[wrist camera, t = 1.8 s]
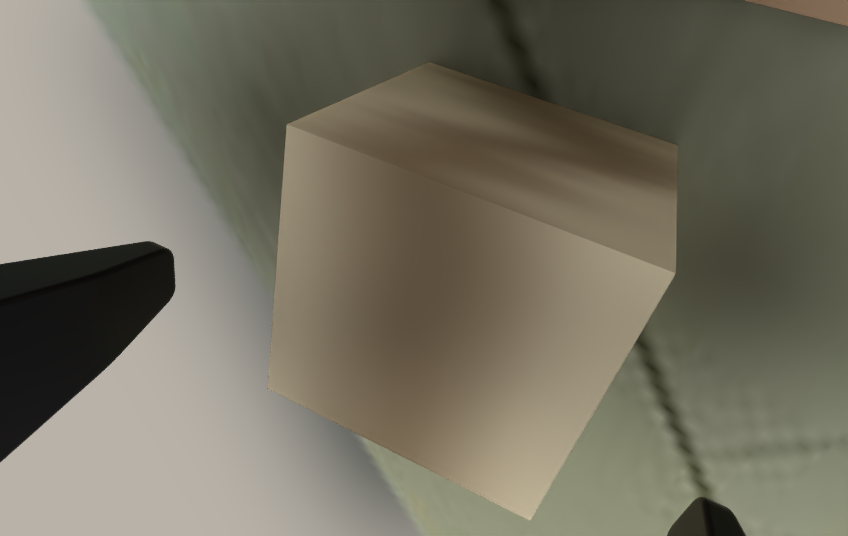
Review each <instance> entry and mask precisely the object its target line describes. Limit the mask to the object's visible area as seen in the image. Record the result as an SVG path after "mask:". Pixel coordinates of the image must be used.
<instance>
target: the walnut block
mask: <svg viewBox="0 0 848 536" xmlns="http://www.w3.org/2000/svg"><path fill="white" fill-rule="evenodd" d="M745 1H749V2H753V3H757V4H761V5H765V6H769V7H773V8H777V9H781V10H785V11H789V12H793V13H797V14H801V15H805V16H809V17H813V18H817V19H821V20H825V21H829V22H833V23H837V24H841V25H845V26H848V0H745Z"/></svg>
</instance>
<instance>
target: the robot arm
mask: <svg viewBox="0 0 848 536" xmlns="http://www.w3.org/2000/svg"><path fill="white" fill-rule="evenodd" d="M174 291H175V271H174V257H173V254H172V252H171V251H170V250H169V249H167V248H165V247H163V246H161V245H158V244H156V243H154V242H150V241H146V242H139V243H133V244H126V245H120V246H113V247H107V248H101V249H94V250H88V251H82V252H75V253H69V254H63V255H57V256H50V257H43V258H37V259H31V260H24V261H19V262H12V263H5V264H0V462H1V461H2V460H3V459H5V458H6V457H7V456H8V455H9V454H10V453H11V452H12V451H14V450H15V449H16V448H17V447H18V446H19V445H21V444H22V443H23V442H24V441H25V440H26V439H27V438H28V437H30V435H32V434H33V433H34V432H35V431H36V430H37V429H39V428H40V427H41V426H42V425H43V424H44V423H45V422H46V421H48V420H49V419H50V418H51V417H52V416H53V415H54V414H55V413H57V411H59V410H60V409H61V408H62V407H63V406H64V405H65V404H67V403H68V402H69V401H70V400H71V399H72V398H73V397H74V396H75V395H77V394H78V393H79V392H80V391H81V390H82V389H84V388H85V387H86V386H87V385H88V384H89V383H90V382H91V381H92V380H94V379H95V378H96V377H97V376H98V375H99V374H100V373H101V372H102V371H104V370H105V369H106V368H107V367H108V366H109V365H110V364H111V363H112V362H113V361H114V360H115V359H116V358H117V357H118V356H119V355H120V354H121V353H122V352H123V350H124V349H125V348H126V347H127V346H128V345H129V344H130V343H131V342H132V341H133V340H134V339H135V338H136V337H137V335H138V334H139V333H140V332H141V331H142V330H143V329H144V328H145V327H146V326H147V325H148V323H150V321H151V320H152V319H153V318H154V317H155V316H156V315H157V314H158V313H159V312H160V311H161V310H162V308H163V307H164V306H165V305H166V304H167V303H168V302H169V301H170V299H171V298H172V296H173V294H174ZM667 536H746V535H745V533H744V531H743V529H742V527H741V526H740V524H739V522H738V520H737V518H736V517H735V515H734V514H733V512H732V511H731V510H730V509H728V508H727V507H725V506H723V505H720V504H718V503H716V502H714V501H712V500H710V499H708V498H705V497H699V498H697V499H695V500H694V501H693V502H692V503H691V504H690V506H689V507H688V508H687V509H686V510H685V511H684V512H683V514H682V515H681V516H680V517H679V518H678V519H677V521H676V522H675V523H674V524H673V525H672V527H671V528H670V530H669V532H668V535H667Z"/></svg>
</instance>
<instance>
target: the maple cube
mask: <svg viewBox="0 0 848 536" xmlns="http://www.w3.org/2000/svg"><path fill="white" fill-rule="evenodd" d="M677 173H678V145H675V144H672V143H669V142H666V141H663V140H660V139H657V138H654V137H651V136H648V135H645V134H642V133H639V132H637V131H634V130H631V129H628V128H625V127H622V126H619V125H616V124H613V123H610V122H607V121H604V120H601V119H598V118H595V117H592V116H589V115H586V114H583V113H580V112H577V111H574V110H571V109H568V108H565V107H562V106H559V105H556V104H553V103H550V102H547V101H544V100H541V99H538V98H535V97H532V96H529V95H526V94H523V93H520V92H517V91H514V90H511V89H508V88H505V87H502V86H499V85H496V84H493V83H490V82H487V81H484V80H481V79H478V78H475V77H472V76H469V75H466V74H463V73H460V72H457V71H454V70H451V69H448V68H445V67H442V66H439V65H436V64H433V63H430V62H428V63H426V64H424V65H421V66H419V67H417V68H414V69H412V70H410V71H407V72H405V73H403V74H401V75H398V76H396V77H394V78H391V79H389V80H387V81H385V82H382V83H380V84H378V85H375V86H373V87H371V88H369V89H366V90H364V91H362V92H359V93H357V94H355V95H353V96H350V97H348V98H346V99H343V100H341V101H339V102H337V103H334V104H332V105H330V106H327V107H325V108H323V109H321V110H318V111H316V112H314V113H311V114H309V115H307V116H305V117H302V118H300V119H298V120H295V121H293V122H291V123H289V124H287V128H286V142H285V155H284V169H283V183H282V196H281V210H280V224H279V238H278V251H277V265H276V279H275V292H274V306H273V320H272V321H273V322H272V335H271V347H270V362H269V375H268V389H269V390H271V391H273V392H275V393H277V394H279V395H281V396H283V397H286V398H287V399H289V400H291V401H293V402H295V403H297V404H299V405H301V406H303V407H305V408H307V409H309V410H311V411H313V412H315V413H317V414H319V415H321V416H323V417H325V418H327V419H329V420H331V421H333V422H335V423H337V424H339V425H341V426H343V427H345V428H347V429H349V430H351V431H353V432H355V433H357V434H359V435H361V436H363V437H365V438H367V439H369V440H371V441H372V442H374V443H376V444H378V445H380V446H382V447H384V448H386V449H388V450H390V451H392V452H394V453H396V454H398V455H400V456H402V457H404V458H406V459H408V460H410V461H412V462H414V463H416V464H418V465H420V466H422V467H424V468H426V469H428V470H430V471H432V472H434V473H436V474H438V475H440V476H442V477H444V478H446V479H448V480H450V481H452V482H454V483H456V484H458V485H460V486H462V487H464V488H466V489H468V490H470V491H472V492H474V493H476V494H478V495H480V496H482V497H484V498H486V499H488V500H490V501H492V502H494V503H496V504H498V505H500V506H502V507H503V508H505V509H507V510H509V511H511V512H513V513H515V514H517V515H519V516H521V517H523V518H525V519H527V520H529V521H530V520H531V518H532V517H533V515H534V513H535V512H536V510H537V508H538V507H539V505H540V503H541V501H542V500H543V498H544V496H545V495H546V493H547V491H548V490H549V488H550V486H551V485H552V483H553V481H554V479H555V478H556V476H557V474H558V473H559V471H560V469H561V468H562V466H563V464H564V462H565V461H566V459H567V457H568V456H569V454H570V452H571V451H572V449H573V447H574V446H575V444H576V442H577V440H578V439H579V437H580V435H581V434H582V432H583V430H584V429H585V427H586V425H587V423H588V422H589V420H590V418H591V417H592V415H593V413H594V412H595V410H596V408H597V407H598V405H599V403H600V401H601V400H602V398H603V396H604V395H605V393H606V391H607V390H608V388H609V386H610V384H611V383H612V381H613V379H614V378H615V376H616V374H617V373H618V371H619V369H620V367H621V366H622V364H623V362H624V361H625V359H626V357H627V356H628V354H629V352H630V351H631V349H632V347H633V345H634V344H635V342H636V340H637V339H638V337H639V335H640V334H641V332H642V330H643V328H644V327H645V325H646V323H647V322H648V320H649V318H650V317H651V315H652V313H653V312H654V310H655V308H656V306H657V305H658V303H659V301H660V300H661V298H662V296H663V295H664V293H665V291H666V289H667V288H668V286H669V284H670V283H671V281H672V279H673V278H674V276H675V274H676V237H677Z"/></svg>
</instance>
